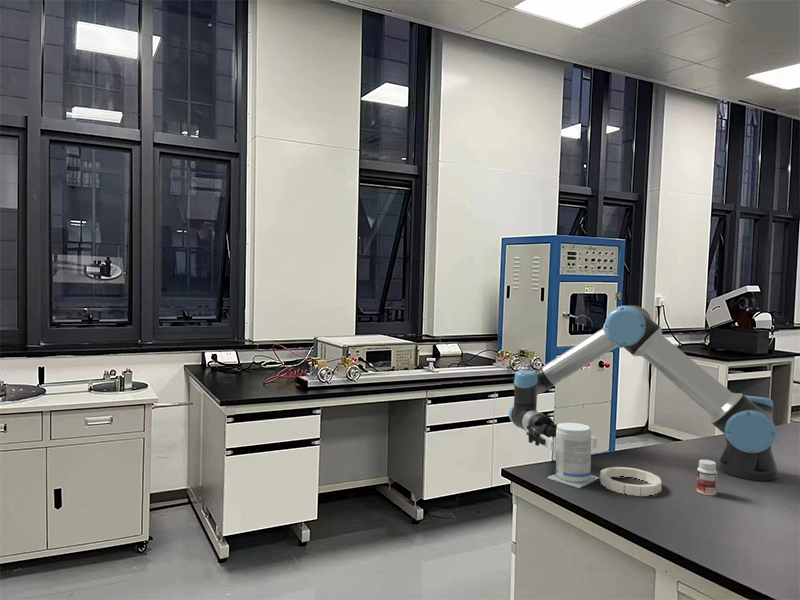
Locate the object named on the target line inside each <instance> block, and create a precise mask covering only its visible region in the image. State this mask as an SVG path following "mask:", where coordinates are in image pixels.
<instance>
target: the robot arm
mask: <svg viewBox="0 0 800 600" xmlns="http://www.w3.org/2000/svg"><path fill="white" fill-rule="evenodd" d="M602 326H603V327H602V328H601V329H599V330H597V331H596V332H595V333H593V334H592V335H590V336H589V337H587V338H585V339H584V340H582V341H580V342H579V343H577V344H575V345H574V346H573V347H571V348H569V349H568V350H566V351H565V352H564V353H562V354H560V355H558V356H557V357H556V358H554V359H553V360H550V361H548V363H546V364H544V365H543V366H541V367H539V368H538V369H537V370H535V371H534V370H525V369H524V370H517V371H516V372H515V374H514V379H513V385H514V393H513V395H514V396H513V397H514V398H513V402H514V403H513V405H512V406H511V407H510V409H509V412H508V417H509V420H510V421H511V423H513V424H514V425H515V426H516V427H517V428H520V429H522V430H524V431H525V432H526V435H527V436H528V443H530V444H532V443H533V442H534V443H535V444H534V445H535V446H540V445H542V446H544V447H545V448H546V449H548V450H550V451H554V449H555V448H554V444H555V439H554V440H553V439H552V438H556V430H557V425H558V424H556V423H555V422H554V420H553V419H552V418H551V417H549V416H548V415H546V414H544V413H542V412H540V411H537V405H538V404H537V403H538V395H540V394H542V393H544V392H546V391H548V390H549V389H550V388H552V387H553V386H556V384H559V383H560V382H561V381H564V380H565V379H566V378H569V377H570V376H572V375H573V374H575V373H576V372H578V371H580V370H582V369H583V368H584V367H587V366H588V365H589V364H591V363H592V362H595V361H596V360H597V359H599V358H601V357H603V356H604V355H606V354H608V353H610V352H611V351H613V350H614V349H616V348H619V349H620V348H621V349H622V348H624V350H626V351H627V352H628V353H630V354H631V355H632V356H633V357H642V358H643V359H644V360H645V361H647V362H648V363H650V364H651V366H653V368H655V369H656V370H657V371H658V372H660V373H661V374H662V375H663V376H664V377H665V378H667V380H669V381H670V382H671V383H672V384H674V385H675V386H676V387H677V388H678V389H679V390H681V391H682V392H683V393H684V394H685V395H686V396H688V397H689V398H690V399H691V400H693V401H694V402H695V403H696V404H697V405H698V406H699V407H701V408H702V410H704V411H706V413H707V414H709V416H710V417H709V419H710V423H711V424H712V425H713V426H715V428H717V429H718V430H719V431H720V432H722V433H723V434H724V435H725V445H724V446H723V449H722V451H721V454H720V456H719V459H718V462H717V463H718V464H717V466H718V469H719V470H720V471H721V472H722V473H725V474H727V475H729V476H732V477H736V478H741V479H745V480H751V481H761V482H762V481H765V482H766V481H767V482H768V481H774V480H777V479H778V473H779V472H778V470H779V469H778V466H777V464H776V463H777V462H776V459H775V456H774V454H773V452H772V450H773V449H772V445H773V444H774V441H775V440H776V437H777V427H776V424H775V423H774V418H773V416H774V410H775V407H774V401H773V399H771V398H768V397H763V396H762V397H761V396H753V395H746V394H745V395H744V394H743V393H740V392H739V393H736V392H732V391H731V390H729V389H728V388H727V387H726V386H724V385H723V384H722V383H721V382H719V380H717V379H716V378H715V377H714V376H712V375H711V374H710V373H709V372H707V371H706V370H705V369H704V368H703V367H701V366H700V365H699V364H698V363H697V362H695V361H694V360H693V359H692V358H690V357H689V356H688V355H687V354H686V353H684V352H683V351H682V350H680V349H679V348H678V347H677V346H676V345H675V344H673V343H672V342H671V341H670V340H669V339H667V338H666V337H665V336H664V335H663V330H662V327H661V326H660V325H658V323H656V322H655V321H654V320H653V319H652V318H651V315H650V313H649V312H648V311H647V310H646V309H645V308H643V307H641V306H639V305H635V304H628V305H621V306H617V307H615V308H613V310H612V311H610V312H609V313H608V314H607V317H606V318H605V322H604V323H603V325H602ZM590 432H591V433H592V431H591V430H590ZM550 437H551V438H550ZM597 443H598V442H597V437H595V436H593V435H591V448H597Z"/></svg>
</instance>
